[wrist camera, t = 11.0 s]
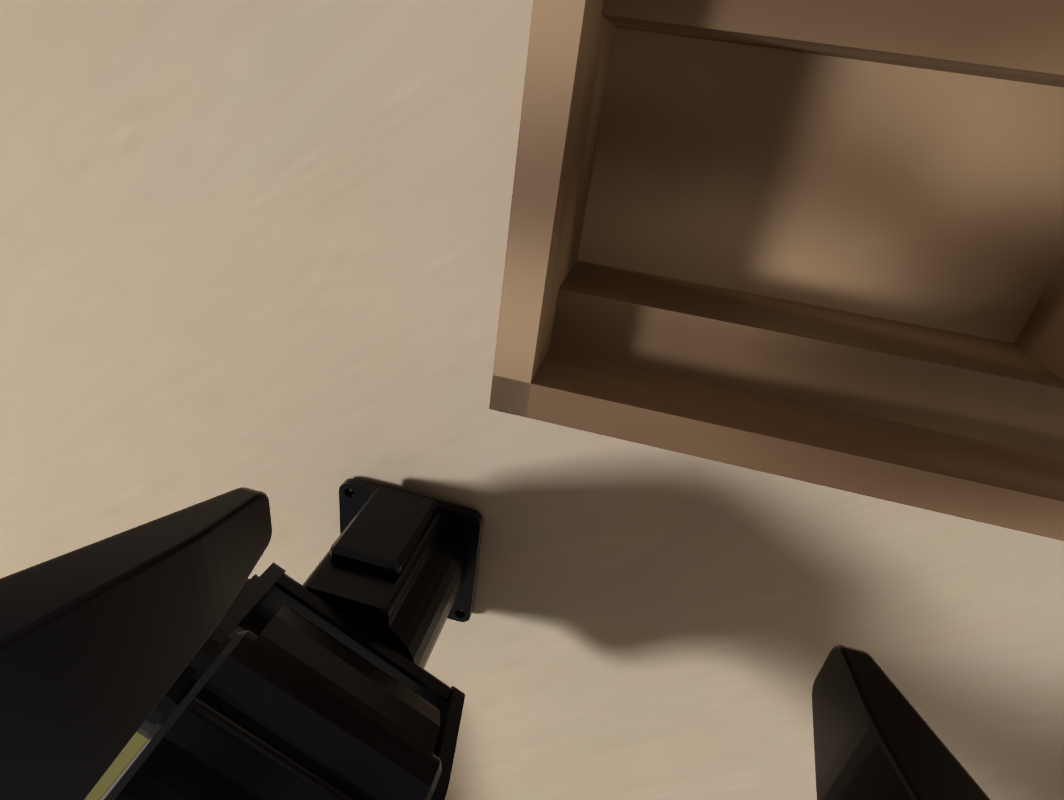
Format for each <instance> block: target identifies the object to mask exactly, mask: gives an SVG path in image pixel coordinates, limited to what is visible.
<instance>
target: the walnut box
mask: <svg viewBox="0 0 1064 800" xmlns="http://www.w3.org/2000/svg"><path fill="white" fill-rule="evenodd" d="M489 409H493V410H497V411H502V412H506V413H510V414H515V415H519V416H523V417H528V418H532V419H536V420H541V421H545V422H549V423H554V424H558V425H562V426H567V427H571V428H575V429H580V430H584V431H588V432H593V433H597V434H601V435H606V436H610V437H614V438H619V439H623V440H628V441H632V442H636V443H641V444H645V445H649V446H654V447H658V448H662V449H667V450H671V451H675V452H680V453H684V454H688V455H693V456H697V457H701V458H706V459H710V460H714V461H719V462H723V463H727V464H732V465H736V466H740V467H745V468H749V469H753V470H758V471H762V472H766V473H771V474H775V475H779V476H784V477H788V478H793V479H797V480H801V481H806V482H810V483H814V484H819V485H823V486H827V487H832V488H836V489H840V490H845V491H849V492H853V493H858V494H862V495H866V496H871V497H875V498H879V499H884V500H888V501H892V502H897V503H901V504H905V505H910V506H914V507H918V508H923V509H927V510H931V511H936V512H940V513H944V514H949V515H953V516H958V517H962V518H966V519H971V520H975V521H979V522H984V523H988V524H992V525H997V526H1001V527H1005V528H1010V529H1014V530H1018V531H1023V532H1027V533H1031V534H1036V535H1040V536H1044V537H1049V538H1053V539H1057V540H1062V541H1064V0H534V1H533V10H532V19H531V29H530V38H529V47H528V56H527V66H526V75H525V84H524V93H523V102H522V112H521V121H520V130H519V139H518V149H517V158H516V167H515V176H514V186H513V195H512V204H511V213H510V223H509V232H508V241H507V250H506V259H505V269H504V278H503V287H502V296H501V306H500V315H499V324H498V333H497V343H496V352H495V361H494V370H493V380H492V389H491V398H490V407H489Z"/></svg>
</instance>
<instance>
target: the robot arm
mask: <svg viewBox="0 0 1064 800" xmlns="http://www.w3.org/2000/svg"><path fill="white" fill-rule="evenodd" d="M349 488H350V489H352V490H353V491H354V492H352V491H351V490H350V489H349ZM339 502H340V532H341V535H340V536H339V537H338V539H337V540H336V541H335V542H334V544H333V545H332V546H331V549H330V551H329V552H328V553H327V554H326V556H325V557H324V558H323V560H322V561H321V562H320V563H319V565H318V566H317V567H316V568H315V570H314V571H313V572H312V574H311V575H310V576H309V577H308V579H307V580H306V581H305V583H304V584H303V585H301V584H299V583H298V582H297V581H295V580H294V579H292V578H291V577H289V576H288V575H286V574H285V570H284V569H282V568H281V567H279V566H278V565H277V564H275V563H272V565H271V566H270V567H269V568H268V569H267V570H266V571H265V572H264V573H263V574H262V575H261V576H260V577H259V576H257V575H256V574H255V575H254V576H253V577H252V578H251V579H247V578H248V577H249V575H250V573H251V572H252V570H253V569H254V567H255V565H256V564H257V562H258V560H259V559H260V557H261V556H262V554H263V552H264V551H265V549H266V548H267V546H268V544H269V542H270V539H271V534H272V526H271V517H270V507H269V499H268V497H267V495H266V494H265V493H263V492H260V491H257V490H253V489H249V488H238V489H235V490H233V491H230V492H227V493H225V494H222V495H219V496H217V497H214V498H211V499H209V500H206V501H204V502H201V503H198V504H196V505H193V506H190V507H188V508H185V509H183V510H180V511H177V512H175V513H172V514H169V515H167V516H164V517H161V518H159V519H156V520H154V521H151V522H148V523H146V524H143V525H140V526H138V527H135V528H133V529H130V530H127V531H125V532H122V533H119V534H117V535H114V536H112V537H109V538H106V539H104V540H101V541H98V542H96V543H93V544H90V545H88V546H85V547H83V548H80V549H77V550H75V551H72V552H69V553H67V554H64V555H61V556H59V557H56V558H54V559H51V560H48V561H46V562H43V563H40V564H38V565H35V566H32V567H30V568H27V569H25V570H22V571H19V572H17V573H14V574H11V575H9V576H6V577H3V578H1V579H0V800H84V799H85V798H86V797H87V796H88V794H89V793H90V792H91V790H92V789H93V788H94V786H95V785H96V784H97V783H98V781H99V780H100V779H101V777H102V776H103V775H104V773H105V772H106V771H107V770H108V768H109V767H110V766H111V764H112V763H113V762H114V760H115V759H116V758H117V756H118V755H119V754H120V753H121V751H122V750H123V749H124V747H125V746H126V745H127V743H128V742H129V741H130V740H131V738H132V737H133V736H134V734H135V733H136V732H137V733H139V734H141V735H142V736H144V737H145V738H147V739H149V740H150V742H149V743H148V745H147V746H146V747H145V748H144V750H143V751H142V752H141V753H140V755H139V756H138V757H137V759H136V760H135V761H134V762H133V764H132V765H131V766H130V767H129V769H128V770H127V771H126V772H125V774H124V775H123V776H122V777H121V779H120V780H119V781H118V783H117V784H116V785H115V786H114V788H113V789H112V790H111V791H110V793H109V794H108V795H107V796H106V798H105V799H104V800H444V799H445V796H446V793H447V789H448V785H449V780H450V775H451V769H452V764H453V758H454V753H455V747H456V742H457V736H458V731H459V725H460V720H461V715H462V709H463V704H464V698H465V694H464V693H462V692H461V691H459V690H458V689H457V688H455V687H454V686H452V687H449V686H448V685H446V684H445V683H443V682H442V681H440V680H439V679H438V678H436V677H435V676H433V675H432V674H430V673H429V672H427V671H426V670H424V667H425V665H426V663H427V661H428V658H429V656H430V654H431V652H432V650H433V648H434V645H435V643H436V641H437V639H438V637H439V634H440V632H441V630H442V628H443V626H444V623H445V621H446V619H447V618H449V619H452V620H456V621H460V622H465V621H467V620H469V618H470V616H471V613H472V611H473V603H474V594H475V585H476V576H477V568H478V559H479V550H480V541H481V533H482V524H483V519H482V516H481V514H480V513H479V512H477V511H475V510H473V509H470V508H466V507H462V506H458V505H454V504H450V503H446V502H442V501H438V500H434V499H430V498H427V497H423V496H419V495H415V494H411V493H407V492H403V491H399V490H395V489H391V488H387V487H383V486H380V485H376V484H372V483H368V482H364V481H360V480H356V479H347V480H346V481H345V482H344V483H343V484H342V485H341V486H340V489H339ZM467 519H469V520H472V521H473V522H474V523H470V522H468V520H467ZM460 610H461V611H460ZM462 611H463V612H462ZM812 708H813V729H814V750H815V771H816V790H817V800H990V799H989V797H988V796H987V795H986V794H985V793H984V791H983V790H982V789H981V788H980V787H979V785H978V784H977V783H976V782H975V781H974V779H973V778H972V777H971V776H970V775H969V773H968V772H967V771H966V770H965V769H964V767H963V766H962V765H961V764H960V763H959V761H958V760H957V759H956V758H955V757H954V755H953V754H952V753H951V752H950V751H949V749H948V748H947V747H946V746H945V745H944V743H943V742H942V741H941V740H940V739H939V737H938V736H937V735H936V734H935V733H934V731H933V730H932V729H931V728H930V727H929V725H928V724H927V723H926V722H925V721H924V719H923V718H922V717H921V716H920V715H919V713H918V712H917V711H916V710H915V709H914V707H913V706H912V705H911V704H910V703H909V701H908V700H907V699H906V698H905V697H904V695H903V694H902V693H901V692H900V691H899V689H898V688H897V687H896V686H895V685H894V683H893V682H892V681H891V680H890V679H889V677H888V676H887V675H886V674H885V673H884V671H883V670H882V669H881V668H880V667H879V665H878V664H877V663H876V662H875V661H874V659H873V658H872V657H871V656H870V655H869V654H867V653H866V652H864V651H861V650H857V649H854V648H850V647H846V646H842V645H837V646H835V647H834V648H833V649H832V650H831V651H830V653H829V655H828V657H827V659H826V661H825V662H824V664H823V666H822V668H821V670H820V672H819V673H818V675H817V677H816V679H815V681H814V685H813V690H812Z"/></svg>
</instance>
